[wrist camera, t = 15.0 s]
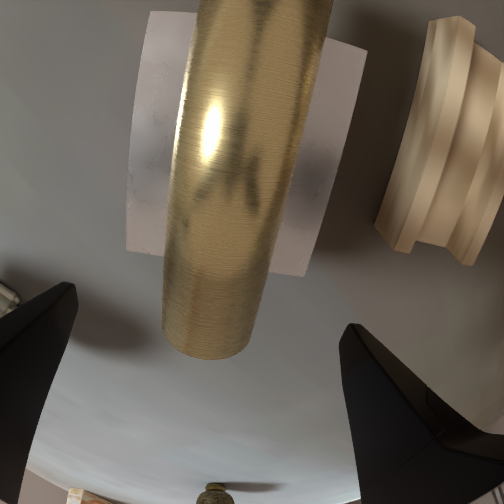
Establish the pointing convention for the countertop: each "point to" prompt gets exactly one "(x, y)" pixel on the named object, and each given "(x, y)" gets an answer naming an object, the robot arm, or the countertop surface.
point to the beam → (449, 148)
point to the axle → (235, 164)
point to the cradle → (164, 127)
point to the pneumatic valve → (7, 300)
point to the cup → (215, 495)
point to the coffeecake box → (84, 497)
